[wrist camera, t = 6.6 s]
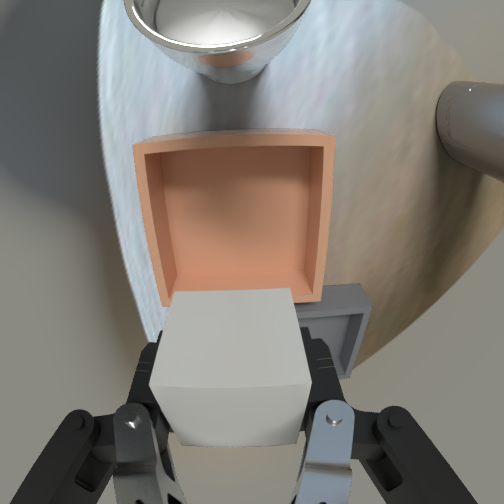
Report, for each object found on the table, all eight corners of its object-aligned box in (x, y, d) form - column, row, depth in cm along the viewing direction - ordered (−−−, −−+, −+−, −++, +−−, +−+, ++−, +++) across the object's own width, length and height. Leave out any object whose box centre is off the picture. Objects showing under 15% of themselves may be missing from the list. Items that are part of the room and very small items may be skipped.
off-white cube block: (290, 287, 11) (311, 382, 7) (284, 361, 13) (296, 443, 9) (174, 291, 11) (148, 385, 7) (192, 364, 13) (181, 445, 9)
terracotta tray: (317, 129, 22) (335, 135, 18) (309, 271, 29) (320, 301, 25) (152, 136, 22) (132, 144, 18) (172, 275, 29) (162, 306, 24)
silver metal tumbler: (252, 102, 21) (269, 91, 8) (175, 73, 20) (86, 36, 6) (288, 34, 18) (349, -48, 5) (211, 5, 17) (176, -96, 3)
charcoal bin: (360, 283, 30) (372, 305, 27) (342, 355, 36) (349, 377, 32) (231, 290, 30) (230, 315, 26) (238, 363, 36) (238, 387, 32)
